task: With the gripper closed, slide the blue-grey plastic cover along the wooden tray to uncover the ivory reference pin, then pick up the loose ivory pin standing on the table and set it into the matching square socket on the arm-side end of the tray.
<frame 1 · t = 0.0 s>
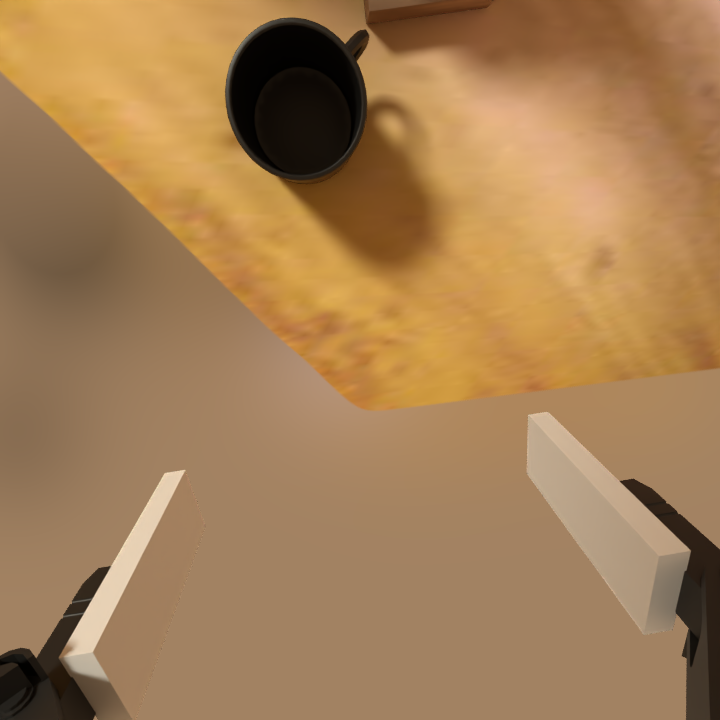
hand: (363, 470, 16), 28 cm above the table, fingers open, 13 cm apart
mug: (313, 113, 36), on the table
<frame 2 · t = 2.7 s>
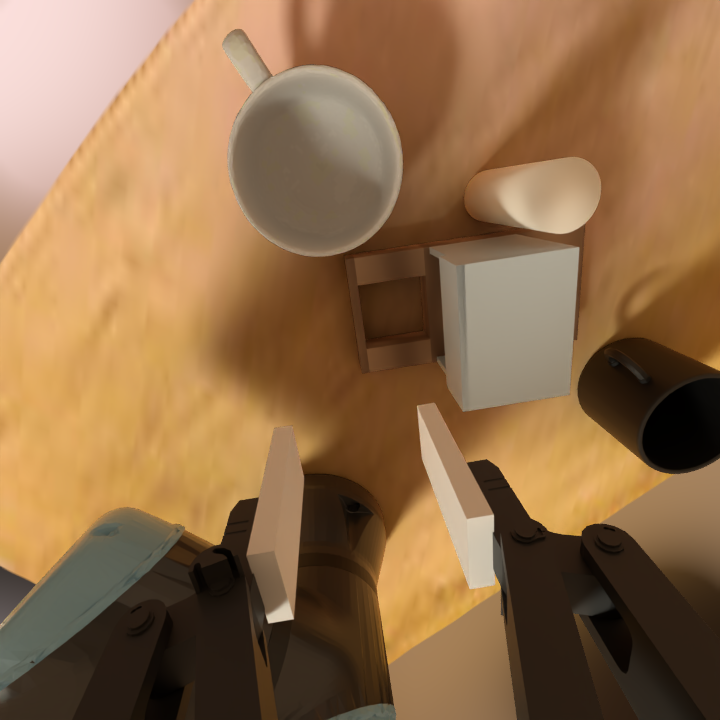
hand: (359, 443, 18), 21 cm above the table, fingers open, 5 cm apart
pin: (487, 196, 34), on the table
teacup: (309, 154, 32), on the table
cover: (491, 316, 31), point 7 cm above the table, slide at 0.0 cm
mug: (613, 371, 42), on the table
wooden tray: (461, 294, 37), on the table
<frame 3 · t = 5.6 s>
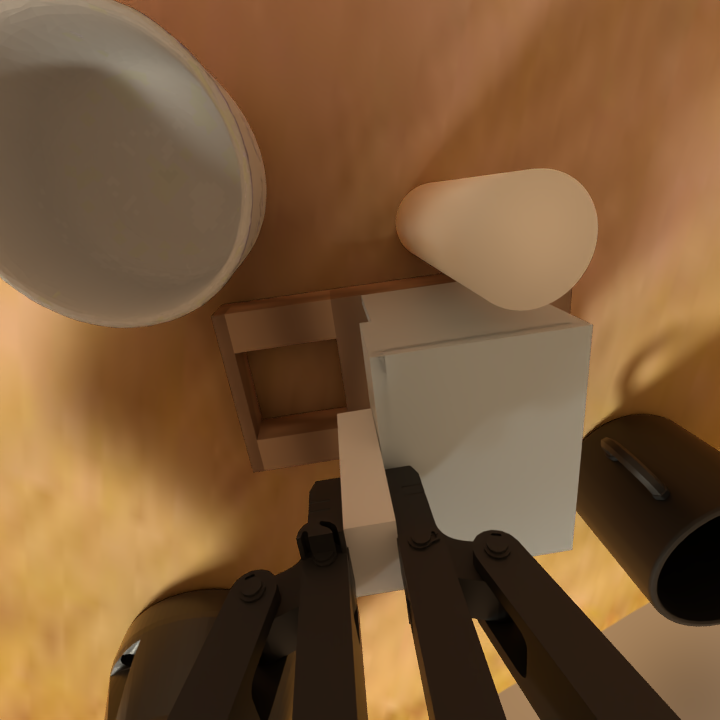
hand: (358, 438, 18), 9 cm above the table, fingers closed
pin: (430, 221, 23), on the table
teacup: (154, 156, 21), on the table
cover: (449, 409, 19), point 7 cm above the table, slide at 1.2 cm, touching gripper
mug: (612, 455, 31), on the table
wooden tray: (399, 358, 26), on the table
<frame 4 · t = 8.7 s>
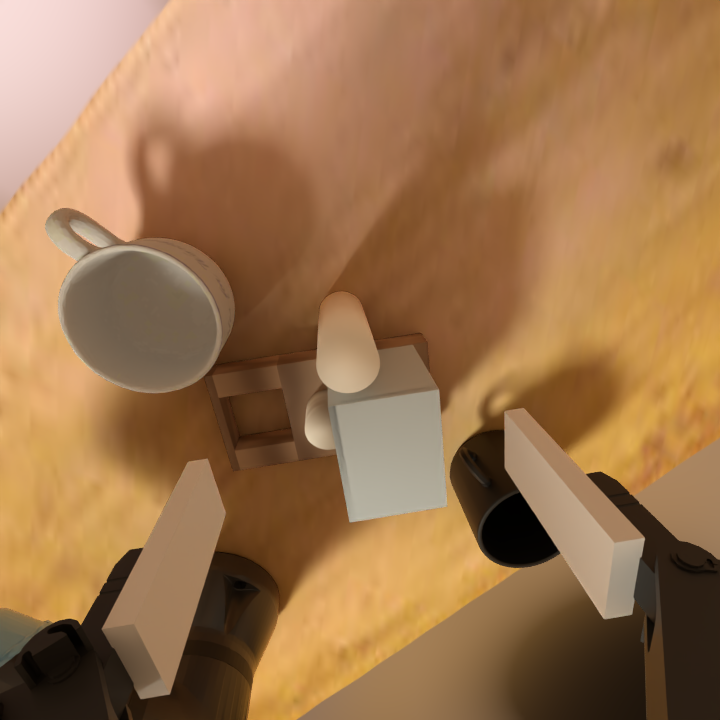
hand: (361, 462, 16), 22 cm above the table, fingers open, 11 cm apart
pin: (341, 313, 37), on the table
teacup: (168, 281, 35), on the table
cover: (383, 427, 33), point 7 cm above the table, slide at 4.5 cm
mug: (483, 458, 44), on the table
wooden tray: (328, 396, 40), on the table
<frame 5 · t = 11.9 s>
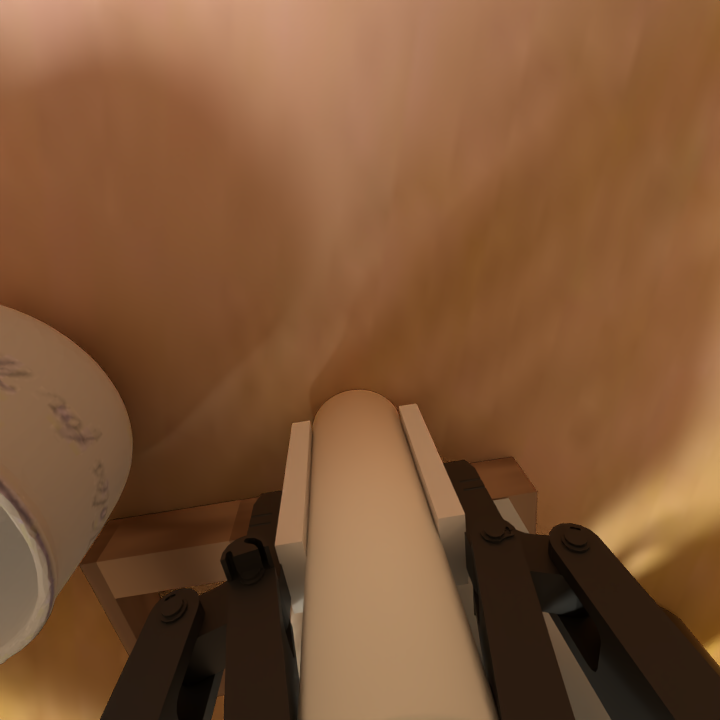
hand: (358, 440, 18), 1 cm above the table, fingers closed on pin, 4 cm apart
pin: (357, 429, 19), on the table, touching gripper
teacup: (1, 370, 17), on the table
cover: (456, 703, 15), point 7 cm above the table, slide at 4.5 cm
mug: (597, 640, 26), on the table
wooden tray: (334, 563, 22), on the table
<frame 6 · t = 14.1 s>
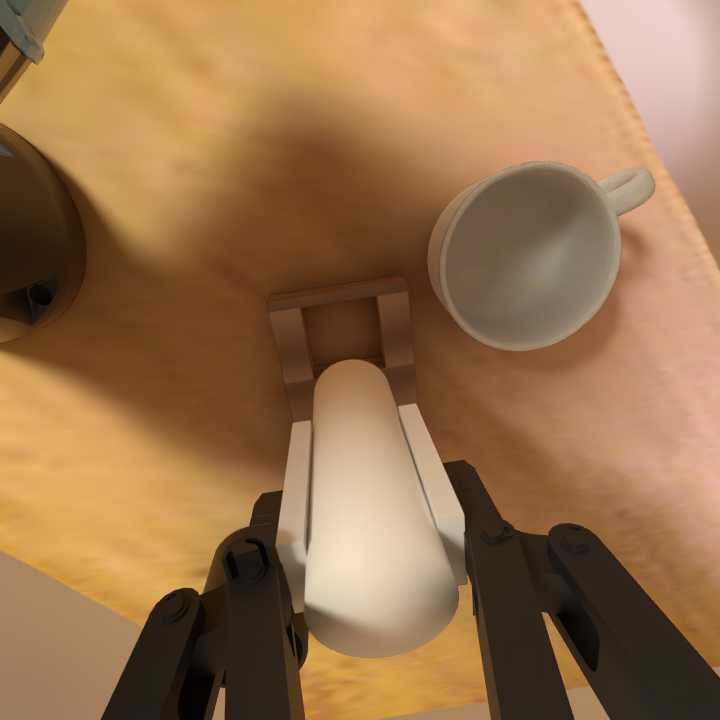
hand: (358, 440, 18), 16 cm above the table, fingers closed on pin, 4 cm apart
pin: (352, 394, 22), point 12 cm above the table, touching gripper
teacup: (502, 239, 31), on the table
mug: (272, 550, 41), on the table
wooden tray: (354, 400, 35), on the table
when the fingers open (4 cm above the table, at t = 17.0 s): pin stays where it is, resting in wooden tray.
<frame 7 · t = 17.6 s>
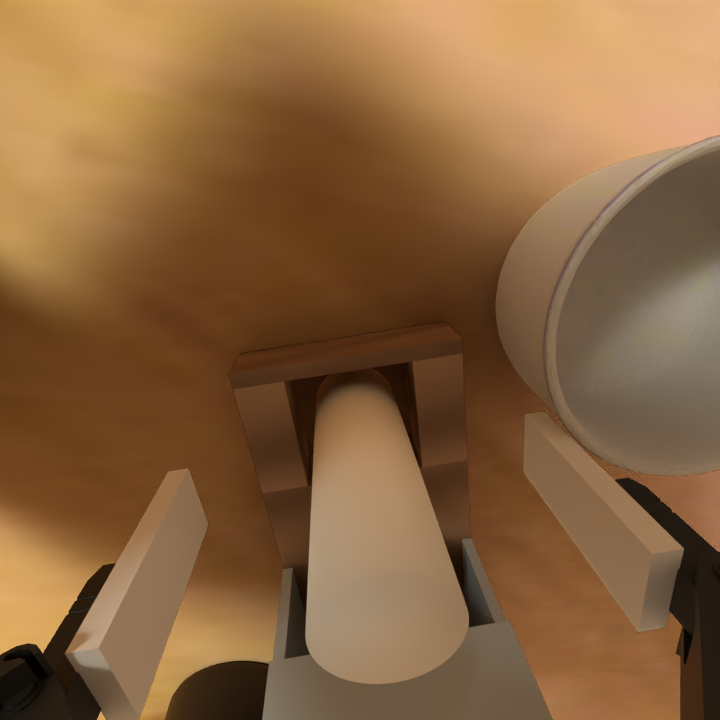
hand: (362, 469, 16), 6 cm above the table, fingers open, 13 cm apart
pin: (355, 401, 21), resting in wooden tray
teacup: (607, 265, 20), on the table, touching gripper
cover: (397, 685, 19), point 7 cm above the table, slide at 4.5 cm
mug: (252, 689, 29), on the table
wooden tray: (369, 501, 24), on the table
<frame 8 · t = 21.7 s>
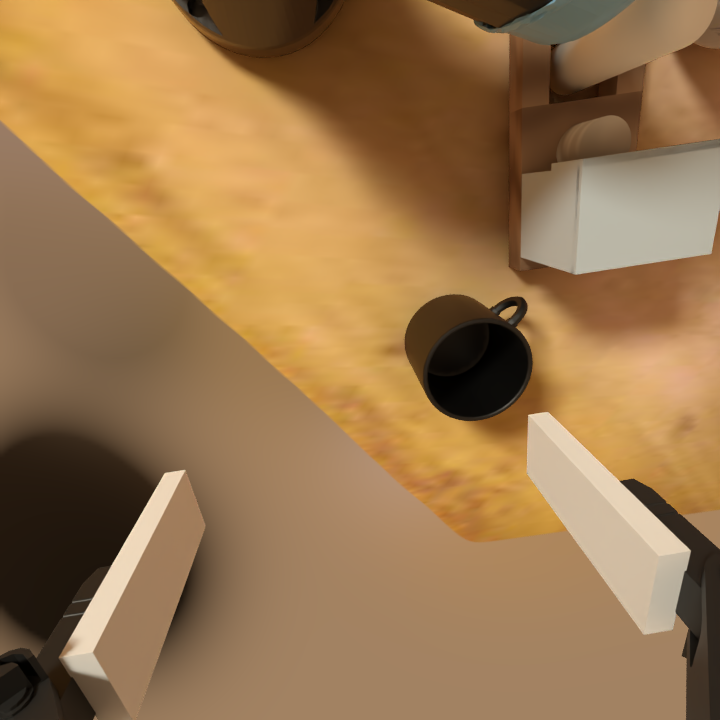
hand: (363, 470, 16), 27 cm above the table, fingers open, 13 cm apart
pin: (568, 67, 35), resting in wooden tray
cover: (608, 207, 32), point 7 cm above the table, slide at 4.5 cm
mug: (457, 328, 43), on the table
wooden tray: (563, 152, 37), on the table
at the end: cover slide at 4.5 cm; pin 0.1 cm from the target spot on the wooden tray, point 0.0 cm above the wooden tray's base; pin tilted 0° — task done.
